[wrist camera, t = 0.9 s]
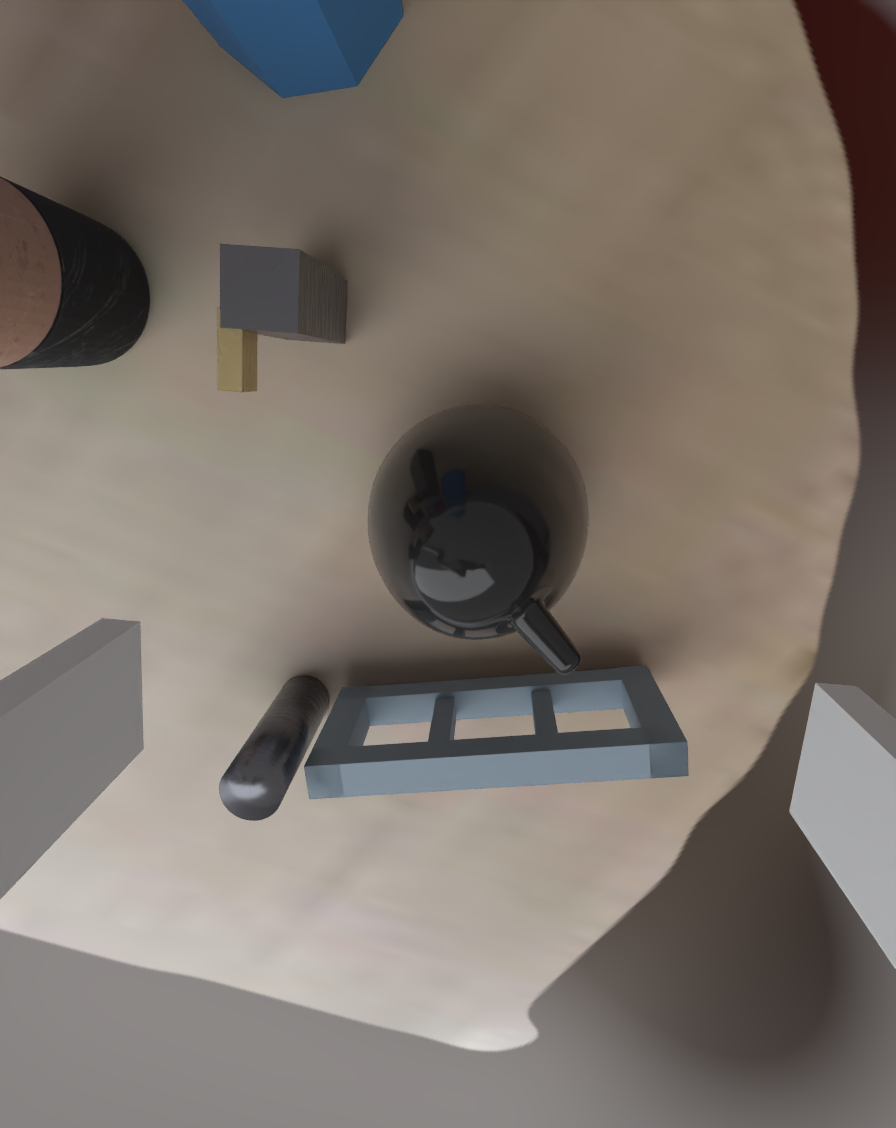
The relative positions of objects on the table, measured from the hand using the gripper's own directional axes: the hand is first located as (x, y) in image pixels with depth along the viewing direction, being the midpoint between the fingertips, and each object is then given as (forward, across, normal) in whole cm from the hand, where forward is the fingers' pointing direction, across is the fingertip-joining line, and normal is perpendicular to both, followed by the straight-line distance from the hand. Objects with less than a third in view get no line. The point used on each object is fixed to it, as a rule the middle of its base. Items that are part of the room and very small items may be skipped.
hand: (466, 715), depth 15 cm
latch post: (+26, -9, +8) cm, 29 cm away
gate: (+25, +1, -10) cm, 27 cm away
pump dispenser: (+26, 0, 0) cm, 26 cm away
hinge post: (+26, -9, -12) cm, 30 cm away
